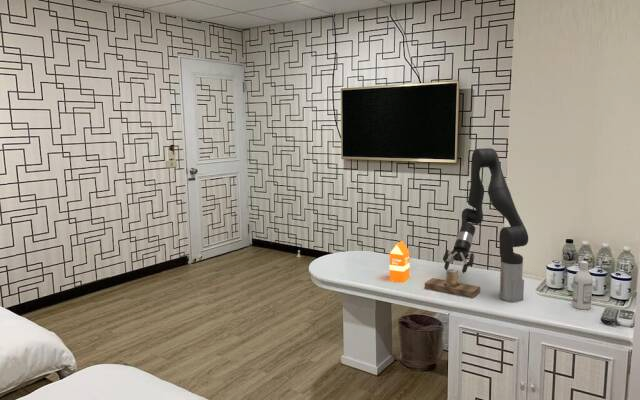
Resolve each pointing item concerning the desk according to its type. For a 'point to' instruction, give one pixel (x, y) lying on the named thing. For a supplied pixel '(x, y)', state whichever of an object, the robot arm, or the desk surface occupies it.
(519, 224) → the robot arm
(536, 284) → the desk surface
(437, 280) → the brown wooden slotted board
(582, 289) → the bath foam
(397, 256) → the orange juice
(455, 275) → the tan cylinder
